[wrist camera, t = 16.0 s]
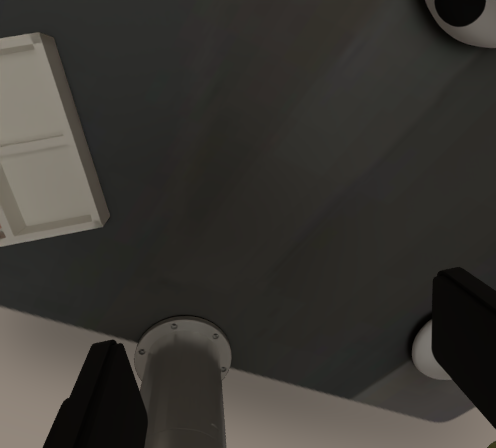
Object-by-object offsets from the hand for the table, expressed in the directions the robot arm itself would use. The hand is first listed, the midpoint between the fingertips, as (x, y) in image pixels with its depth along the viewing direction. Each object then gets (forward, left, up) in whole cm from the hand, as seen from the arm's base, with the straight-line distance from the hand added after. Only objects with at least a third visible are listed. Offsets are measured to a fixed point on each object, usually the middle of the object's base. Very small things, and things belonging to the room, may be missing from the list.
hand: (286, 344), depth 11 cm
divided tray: (+5, +23, -32) cm, 40 cm away
